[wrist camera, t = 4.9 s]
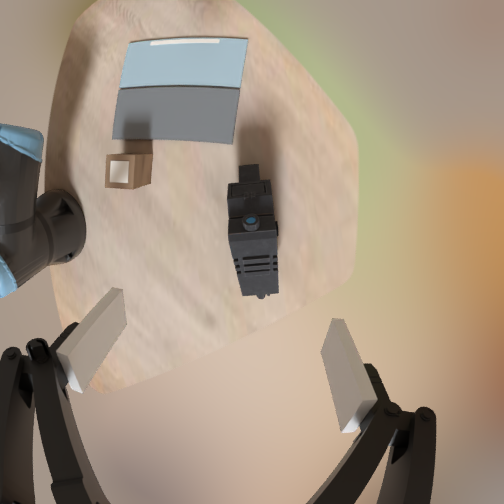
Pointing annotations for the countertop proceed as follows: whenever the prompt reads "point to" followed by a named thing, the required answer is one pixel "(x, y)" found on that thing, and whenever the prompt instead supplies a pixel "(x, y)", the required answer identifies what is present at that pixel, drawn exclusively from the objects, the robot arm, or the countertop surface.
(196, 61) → the mat
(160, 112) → the mat
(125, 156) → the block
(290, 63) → the countertop surface
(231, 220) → the tool
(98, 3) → the countertop surface
